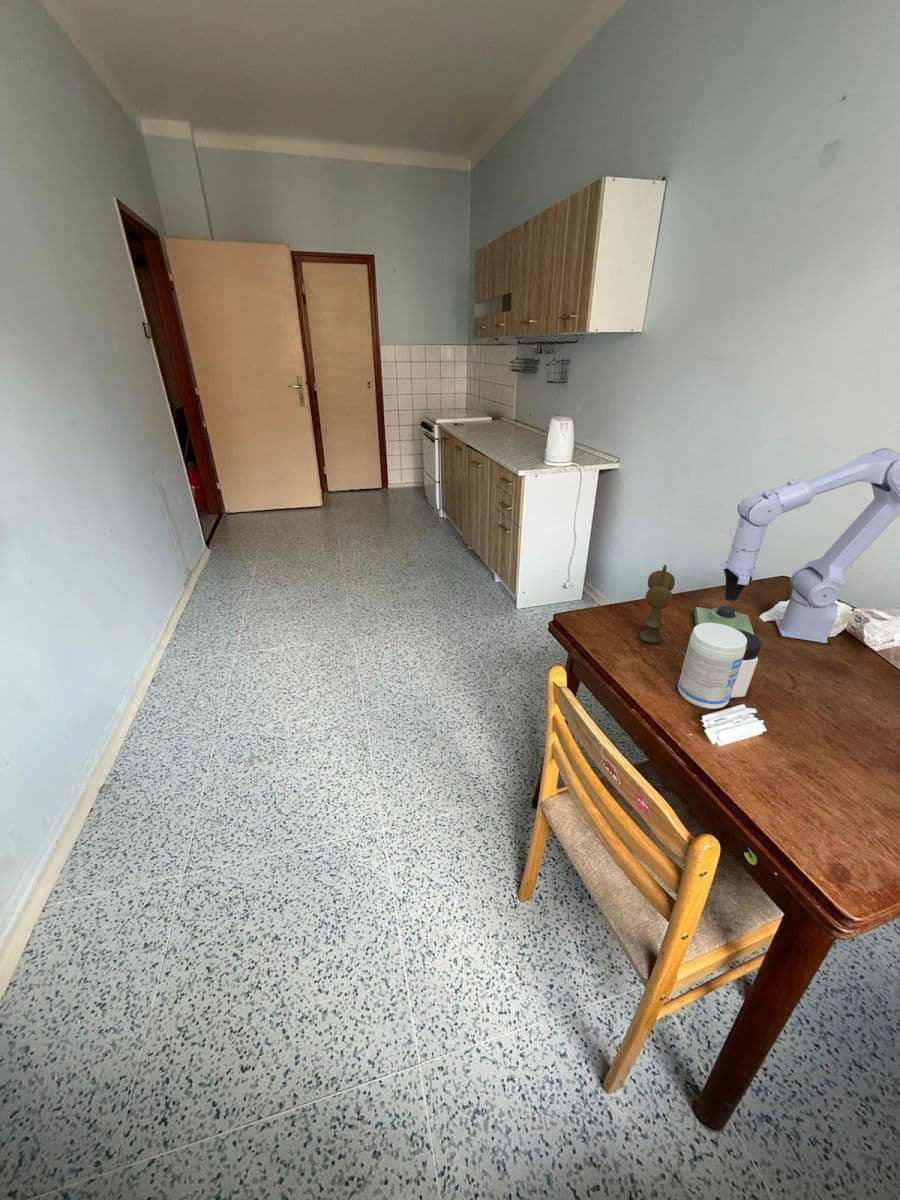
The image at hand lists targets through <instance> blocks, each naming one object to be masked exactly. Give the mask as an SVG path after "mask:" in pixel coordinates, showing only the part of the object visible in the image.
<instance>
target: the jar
mask: <svg viewBox="0 0 900 1200" xmlns="http://www.w3.org/2000/svg"><path fill="white" fill-rule="evenodd" d="M734 629H735V628H734ZM736 630H738V631H740V632H741V633H742V634H744V635H745V637H746V638H747V645H746V650H745V654H744V657H743V660H742V663H741V666H740V669H739V672H738V675H737V678H736V681H735V684H734V687H733V691H732V694H731V697H730V699H732V698H744V697H746V695H747V692H748V690H749V686H750V684H751V681H752V678H753V675H754V672H755V670H756V667H757V664H758V661H759V658H758V656H759V653H760V652H761V651H760V650H761V647H762V642H761V640H760V639H759V638H758V636H756V635H755V634H754V635H753V634H751V633H749V632H747V631H744V630H740V629H736Z"/></svg>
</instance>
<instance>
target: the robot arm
mask: <svg viewBox="0 0 900 1200" xmlns="http://www.w3.org/2000/svg"><path fill="white" fill-rule="evenodd" d="M858 482H861V483H869V484H870V486H871V489H872V492H873V500H872V501H871V502H870V503H869V504H868V505H867V506H866V507H865V509H863V511H862V512H861V513H860V514H859V515H858V517H856V519H855V520H854V521H853V522H852V523H851V524H850V525H849V526H848V528H846V529H845V531H844V532H843V533H842V534H841V535H840V536H839V538H837V540H836V541H835V542H834V543H833V544H832V545H831V546H830V548H829V549H828V550H827V551H826V552H825V553H824V554H823V555H822V556H821V557H820V558H817V559H812V560H809V561H807V563H806V564H805V565H804V566H803V567H801V568H799V569H797V570H795V572H793V573H792V575H791V576H790V579H789V584H790V587H791V588H792V590H791V595H790V597H789V600H788V603H787V605H786V609H785V611H784V613H783V617H782V619H775V625H776V626H777V628H778V631H779V633H780V635H781V637H785V638H790V639H798V640H803V641H810V642H815V643H823V644H827V643H828V642H829V641H828V638H829V636H830V634H831V632H832V630H833V627H834V625H835V622H836V620H837V616H838V606H837V604H836V603H835V602H836V601H837V600H838V599H839V597H840V595H841V591H842V590H843V588H844V587H845V586H847V576H846V575H847V574H846V572H847V571H848V570H849V569H850V567H852V566H853V564H854V563H856V561H857V560H858V559H859V558H860V557H861V556H862V555H863V554H864V553H865V552H866V551H867V550H868V548H869V547H871V545H872V544H873V543H874V542H875V541H876V540H878V538H879V537H880V536H881V535H882V534H883V532H885V531H886V529H887V528H889V526H890V525H891V524H892V523H893V522H894V521H895V520H896V519H898V517H899V516H900V452H899V451H896V450H893V449H891V448H888V447H881V448H880V447H879V448H877V449H875V450H873V451H871V452H866V453H862V454H861V455H859V456H858V457H857V458H856V459H854V460H853V461H850V462H848V463H845V464H844V465H842V466H839V467H837V468H835V469H832V470H830V471H828V472H825V473H823V474H821V475H818V476H817V477H814V478H812V479H810V480H805V479H802V478H797V479H795V478H791V479H789V480H787V481H786V483H785V484H783V485H780V486H778V487H775V488H773V489H770V490H769V489H765V490H763V492H762V494H760V493H752V494H748V495H747V496H745V497H744V499H742V500H741V501H740V503H739V504H737V507H736V511H737V513H738V514H739V519H738V522H737V526H736V528H735V532H734V536H733V539H732V543H731V547H730V550H729V554H728V557H727V560H721V561H720V567H723V572H724V578H725V590H724V591H725V592H724V597H725V600H727V601H734V602H735V601H737V599H738V597H739V596H740V595H741V593H742V591H744V588H745V587H747V586H748V585H749V584H750V583H751V582H752V581H753V577H752V574H753V573H754V572H755V570H756V564H757V561H758V558H759V554H760V552H761V547H762V544H763V541H764V539H765V535H766V532H767V529H768V525H770V524H771V523H773V522H774V521H775V520H776V519H777V517H778V516H781V515H782V514H785V513H787V512H791V511H792V510H795V509H799V508H801V507H804V506H806V505H808V504H811V502H812V501H813V499H814V498H815V497H816V496H818V495H821V494H825V493H826V492H830V491H834V490H835V489H839V488H842V487H845V486H849V485H851V484H854V483H858Z"/></svg>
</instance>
